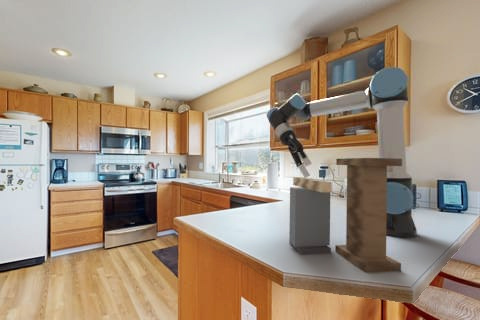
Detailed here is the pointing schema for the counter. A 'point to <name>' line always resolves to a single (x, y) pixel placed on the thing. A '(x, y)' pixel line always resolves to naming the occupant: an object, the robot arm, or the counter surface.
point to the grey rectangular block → (309, 221)
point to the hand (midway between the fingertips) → (308, 171)
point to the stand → (367, 214)
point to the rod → (313, 184)
